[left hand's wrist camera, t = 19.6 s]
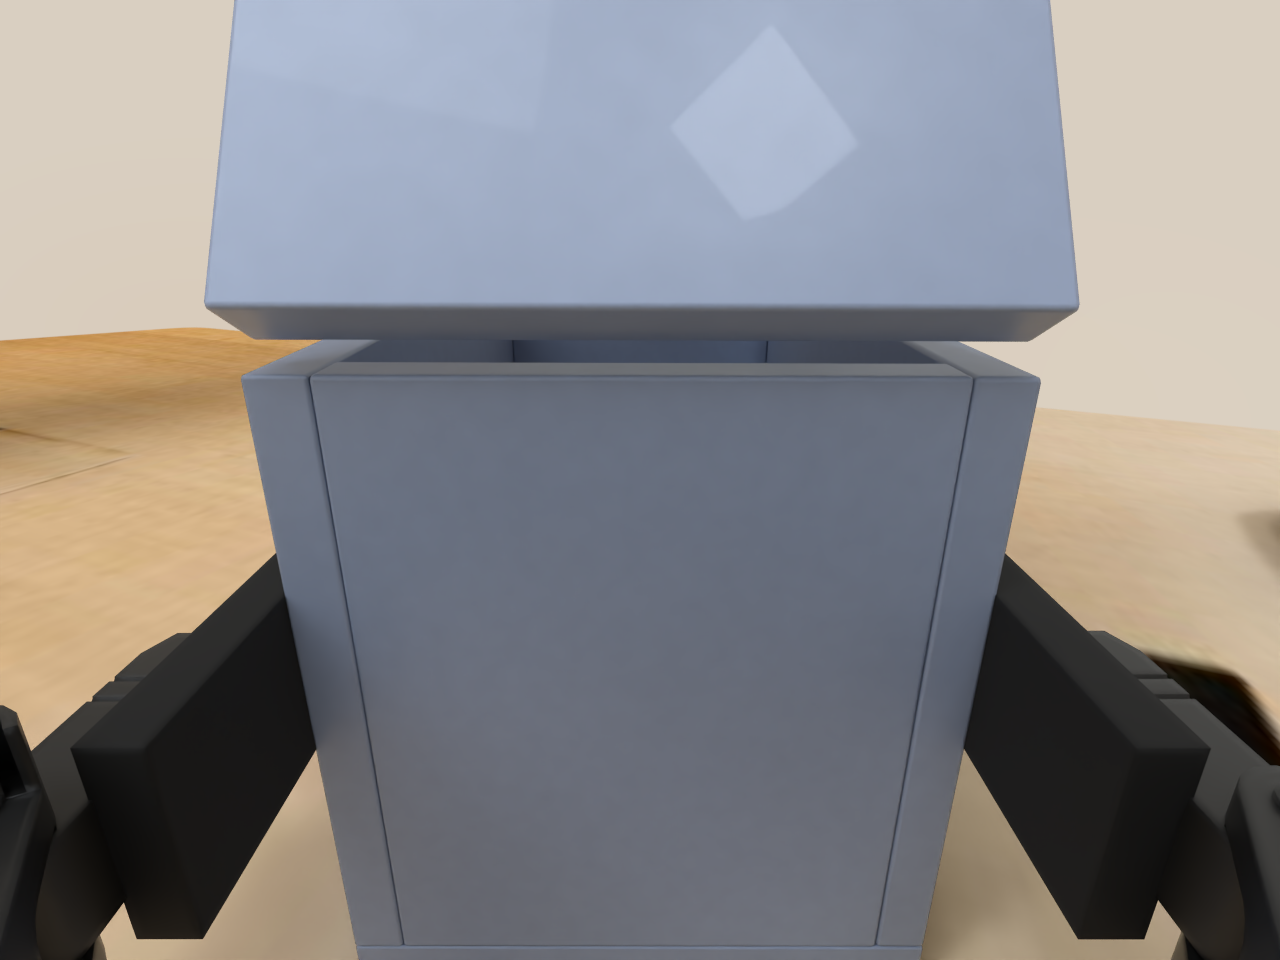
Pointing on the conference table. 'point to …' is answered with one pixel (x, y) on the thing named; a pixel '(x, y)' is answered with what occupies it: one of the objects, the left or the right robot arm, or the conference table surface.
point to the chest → (640, 633)
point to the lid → (642, 171)
